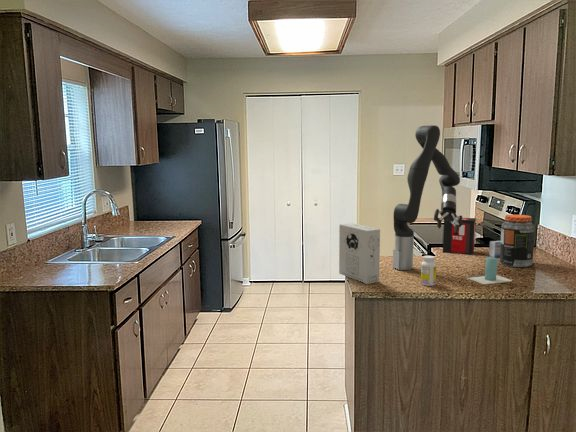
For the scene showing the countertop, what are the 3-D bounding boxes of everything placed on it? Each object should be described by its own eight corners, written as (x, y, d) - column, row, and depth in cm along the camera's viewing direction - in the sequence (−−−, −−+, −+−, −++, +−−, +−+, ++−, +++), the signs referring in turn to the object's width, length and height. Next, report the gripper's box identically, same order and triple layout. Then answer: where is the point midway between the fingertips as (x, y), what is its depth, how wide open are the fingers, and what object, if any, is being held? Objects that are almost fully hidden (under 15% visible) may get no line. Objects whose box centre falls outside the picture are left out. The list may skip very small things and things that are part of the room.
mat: (483, 284, 214) (483, 283, 214) (466, 277, 225) (466, 276, 225) (512, 281, 218) (512, 280, 218) (494, 274, 230) (494, 273, 230)
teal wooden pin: (489, 281, 218) (491, 260, 216) (482, 278, 222) (483, 257, 221) (498, 280, 219) (500, 259, 218) (490, 277, 224) (492, 256, 222)
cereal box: (379, 282, 220) (380, 229, 216) (366, 284, 216) (367, 230, 212) (351, 271, 238) (351, 222, 234) (338, 273, 234) (339, 224, 231)
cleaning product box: (442, 252, 278) (444, 218, 275) (444, 249, 286) (446, 216, 283) (472, 255, 271) (474, 220, 268) (474, 251, 279) (475, 218, 276)
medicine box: (494, 257, 264) (494, 242, 263) (488, 255, 269) (489, 240, 267) (506, 256, 266) (506, 241, 265) (500, 254, 271) (501, 240, 269)
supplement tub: (531, 262, 253) (534, 214, 250) (533, 269, 239) (537, 218, 235) (499, 259, 260) (501, 213, 256) (499, 266, 245) (502, 217, 241)
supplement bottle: (433, 281, 219) (434, 254, 217) (437, 286, 212) (439, 258, 210) (418, 282, 219) (419, 255, 217) (423, 286, 212) (424, 258, 210)
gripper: (438, 196, 244) (437, 222, 235) (465, 204, 244) (464, 229, 235) (432, 204, 250) (431, 230, 241) (458, 211, 250) (458, 237, 241)
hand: (447, 229), depth 238 cm, fingers open, 8 cm apart
